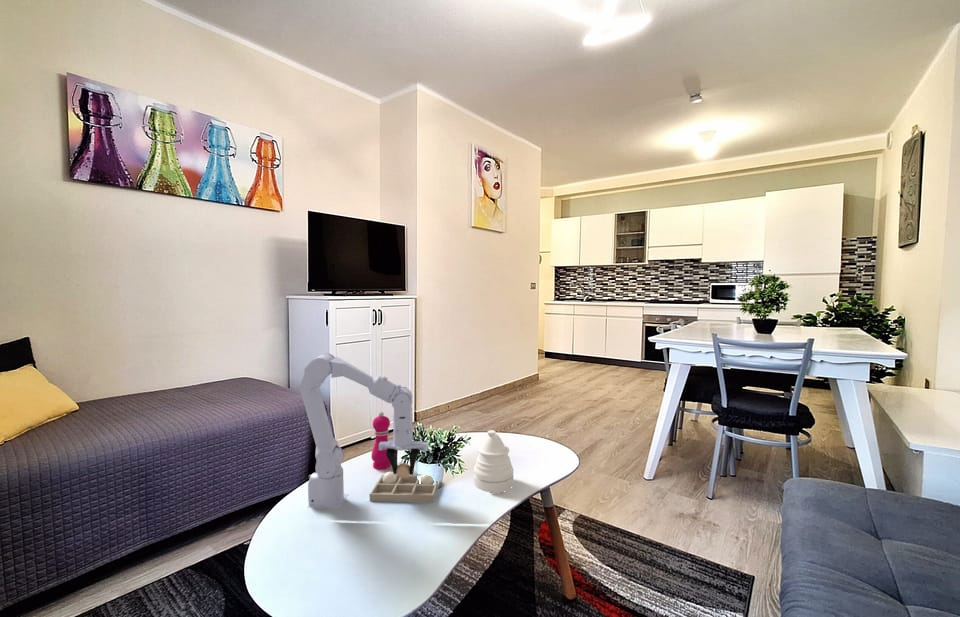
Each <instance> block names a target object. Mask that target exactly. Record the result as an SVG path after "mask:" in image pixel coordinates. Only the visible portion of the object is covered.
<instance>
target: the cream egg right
mask: <svg viewBox="0 0 960 617" xmlns="http://www.w3.org/2000/svg"><path fill="white" fill-rule="evenodd" d="M422 475H423V474H422ZM433 483H434V480H433V478H432V477H431V476H428V475H423V476H422V477H421V484H422V485H433Z"/></svg>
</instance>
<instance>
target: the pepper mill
mask: <svg viewBox="0 0 960 617" xmlns="http://www.w3.org/2000/svg"><path fill="white" fill-rule="evenodd" d="M390 426H391V421H390V418H389V417H388V416H386V415H384V412H383V411H380V412H379V413H378V416H376V417H375V418H374V419H373V420H372V428H373V429H374V430H373V432H374V433H373V435H374V436H375V443H374V445H373V448H372V450H371V456H370V457H371V459H372V461H373V462H372V468H373V469H375V470H378V471H379V470H386V469H389V468H391V467H392V466H391V463H390V461H389V459H388V458H387V456H386V452H387V450H379V443H380V442H387V441H389V439H388V435H389V427H390Z"/></svg>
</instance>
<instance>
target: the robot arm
mask: <svg viewBox="0 0 960 617" xmlns="http://www.w3.org/2000/svg"><path fill="white" fill-rule="evenodd" d="M303 370H304V371H303V376H302V379H301V382H300V385H299V391H300V395H301V398H302V402H303V405H304V409H305V412H306V415H307V419H308V423H309V426H310V430H311V433H312V436H313V440H314V443H315V455H314V456H315V460H316V462H315V472H313V473H312V474H310V476H309V480H308V484H307V486H308V487H307V489H308V490H307V492H308V494H307V496H308V501H307V502H308V505H307V509H309V508H311V509H312V508H313V509H315V508H318V509H340V507H342V505H343V503H344V502H345V501H346V499H347V498H348V497H349V493H348V494H345V492H344V491H345V490H344V483H345V482H344V468H343V466H342V462H343V461H344V458H345V453H344V450H343V449H342V448H341V446H340V445H339V443H338V440H337V439H336V438H335V437H334V435H333V434H334V433H333V431H332V428H331V424H330V420H329V417H328V413H327V410H326V405H325V403H324V399H323V396H322V392H321V387H322V385H323V384H324V383H325V380H326V378H328V377H329V376H331V377H330V378H332V379H333V378H340V377H343V378H346V379H349V380H351V381H353V382H355V383H357V384H359V385H362V386H363V387H366V388H367V389H368V392H369V394H370V395H372V396H374V397H376V398H377V399H380V400H382V401H384V402H385V403H387V404H391V406H392V408H393V415H392V421H393V422H392V424H393V425H392V428H393V434H392V436H393V438H392V439H393V440H388V441H387V442H380V443H379V450H387V452H386V456H387V458H388V459H389V461H390V463H391V466H390V467H391V468H392V472H393V473H394V474H396V475H397V473H396V469H397V467H398V465H399V464H398V454H399V453H398V452H399V451H409V453H408V456H409V458H408V459H409V466H410V475H414V472H415V465H416V462H417V458H418V456H419V453H420V451H423V452H427V451H428V442H425V441H418V440H413V437H414V435H413V432H414V431H413V429H414V427H413V408H412V405H413V393H412V391H411V390H410V389H409V388H408V387H406V386H402V385H401V384H398V385H397V384H396V383H394V382H392V381H390V380H388V377H387V376H383V377H382V376H379V375H378V376H376V377H373V376H371V375H370V374H368V373H366V372H365V371H364V370H361V369H359V368H357V367H356V366H354V365H352V364H351V363H349V362H347V361H346V360H344V359H342V358H340V357H339V356H334V355H333V354H331V353H327V352H326V353H322V354H320V355H319V356H317V357H316V358H314V359H312V360H311V361H310V362H309V363H308V364H307V365H306V367H305V368H304V369H303Z"/></svg>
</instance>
